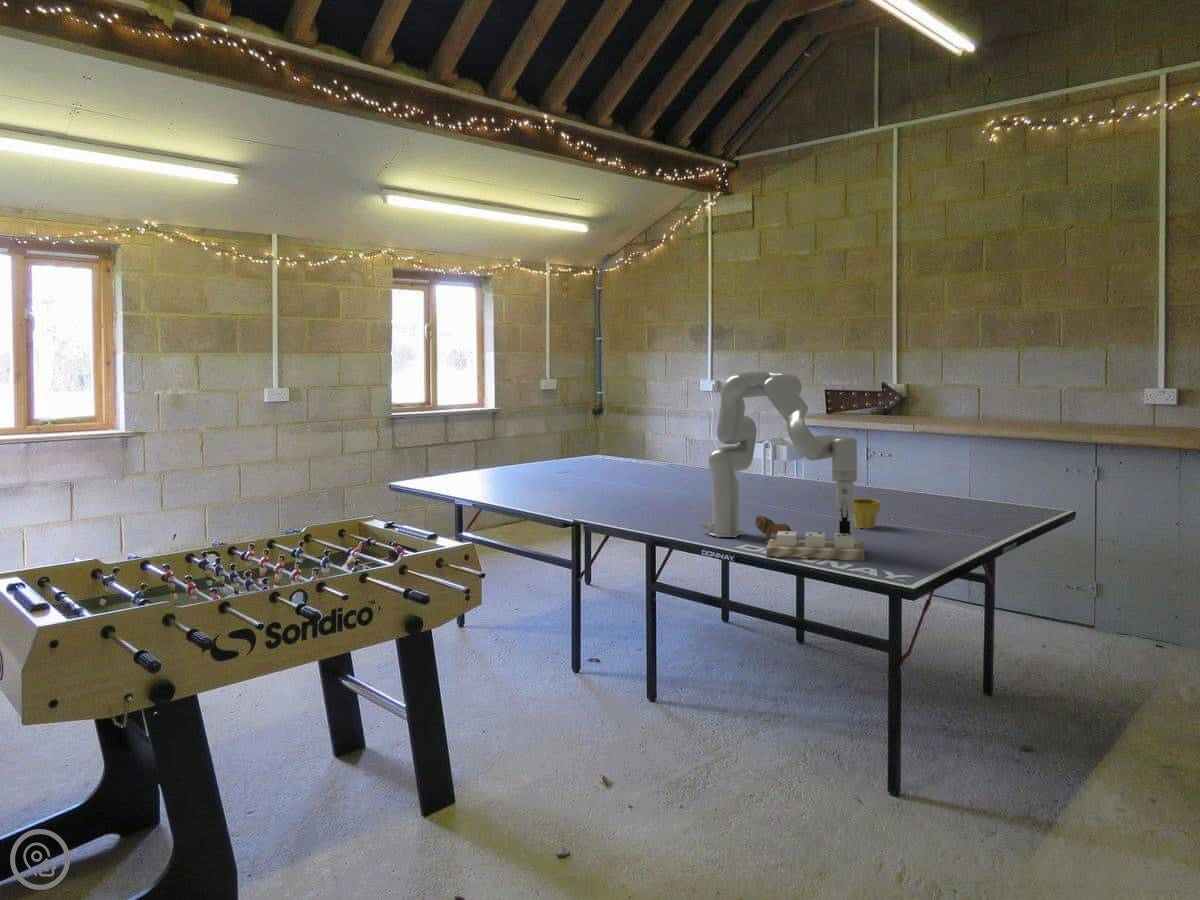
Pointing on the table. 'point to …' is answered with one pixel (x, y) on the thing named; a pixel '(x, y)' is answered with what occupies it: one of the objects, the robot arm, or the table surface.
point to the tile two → (815, 539)
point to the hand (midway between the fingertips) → (844, 532)
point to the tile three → (844, 540)
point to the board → (816, 551)
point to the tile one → (786, 538)
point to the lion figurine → (770, 526)
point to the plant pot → (865, 512)
